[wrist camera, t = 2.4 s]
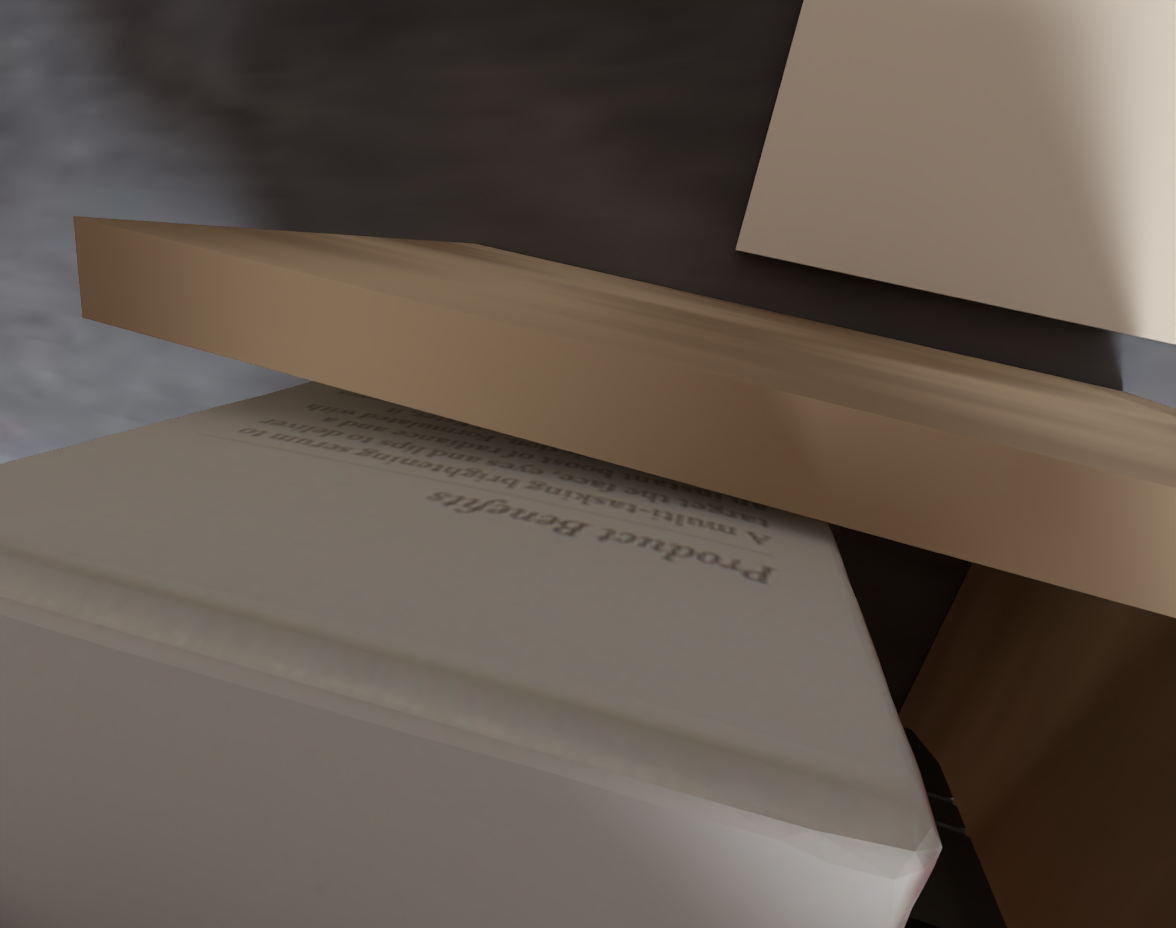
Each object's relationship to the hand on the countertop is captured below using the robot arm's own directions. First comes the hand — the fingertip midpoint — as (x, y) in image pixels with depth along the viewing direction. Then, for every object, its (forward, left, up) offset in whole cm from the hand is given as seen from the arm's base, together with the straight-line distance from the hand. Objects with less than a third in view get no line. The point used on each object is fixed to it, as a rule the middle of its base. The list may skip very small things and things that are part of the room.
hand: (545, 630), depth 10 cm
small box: (0, 0, -5) cm, 5 cm away
